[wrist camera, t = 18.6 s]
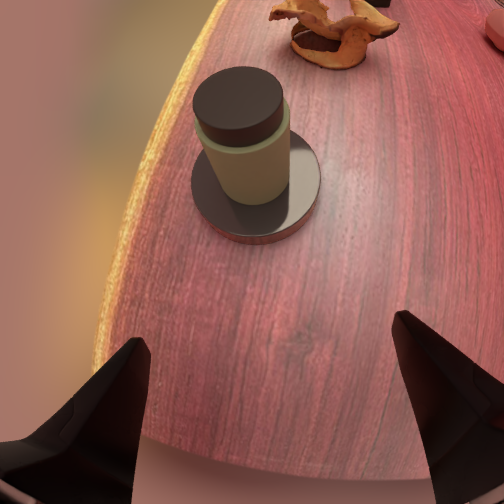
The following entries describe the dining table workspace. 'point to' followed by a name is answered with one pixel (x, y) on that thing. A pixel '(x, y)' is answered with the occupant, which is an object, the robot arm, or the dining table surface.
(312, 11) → the bone
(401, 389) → the dining table surface
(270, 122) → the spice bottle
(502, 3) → the supplement bottle
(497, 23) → the pink bud vase
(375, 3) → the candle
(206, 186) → the trivet
